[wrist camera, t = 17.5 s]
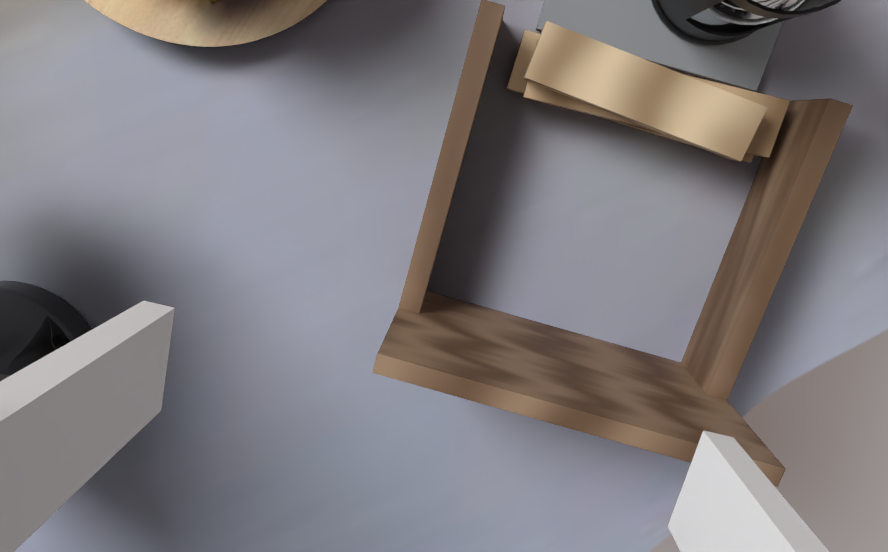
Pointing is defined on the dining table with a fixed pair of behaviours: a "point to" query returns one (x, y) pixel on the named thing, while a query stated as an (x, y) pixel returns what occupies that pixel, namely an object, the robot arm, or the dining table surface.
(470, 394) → the wooden box
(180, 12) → the stacked boxes on plate
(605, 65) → the offcut stack
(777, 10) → the french press
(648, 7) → the slate mat
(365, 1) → the dining table surface
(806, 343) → the dining table surface
